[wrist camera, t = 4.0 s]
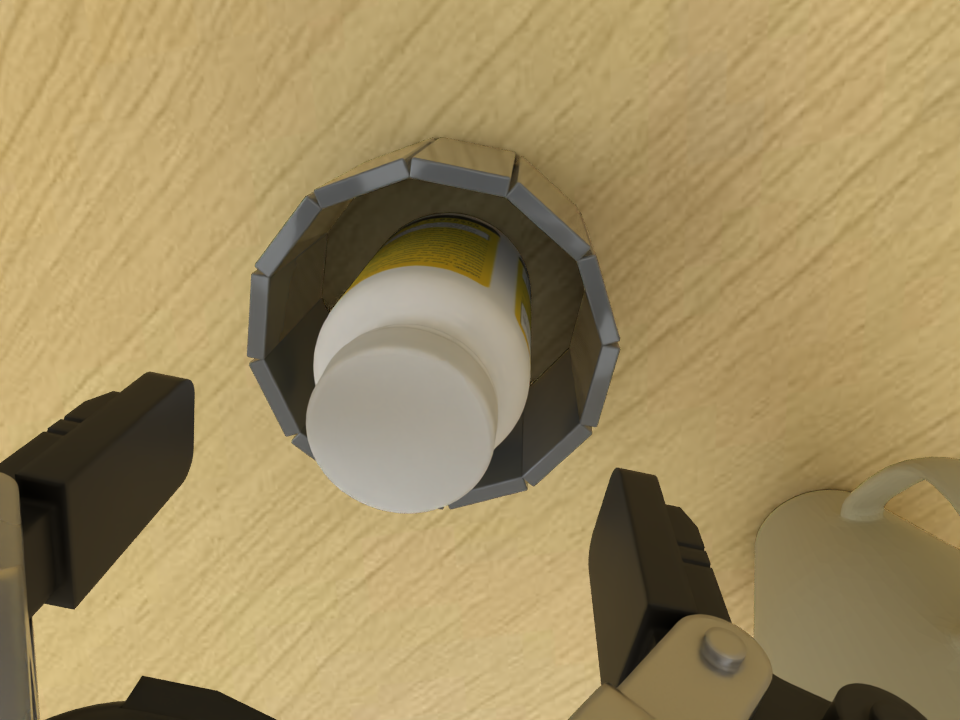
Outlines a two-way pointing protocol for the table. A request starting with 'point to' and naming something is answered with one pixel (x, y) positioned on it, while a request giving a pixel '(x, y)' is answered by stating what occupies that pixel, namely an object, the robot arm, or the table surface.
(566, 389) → the grey ring
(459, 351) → the supplement bottle
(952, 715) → the mug
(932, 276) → the table surface
